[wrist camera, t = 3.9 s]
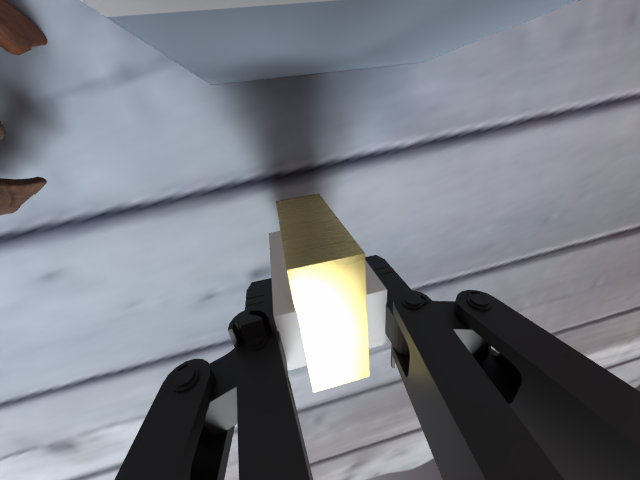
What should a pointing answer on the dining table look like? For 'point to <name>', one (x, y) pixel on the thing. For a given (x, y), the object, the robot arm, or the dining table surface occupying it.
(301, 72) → the coin box
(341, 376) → the gold metal bar
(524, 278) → the dining table surface
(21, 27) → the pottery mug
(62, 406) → the dining table surface
